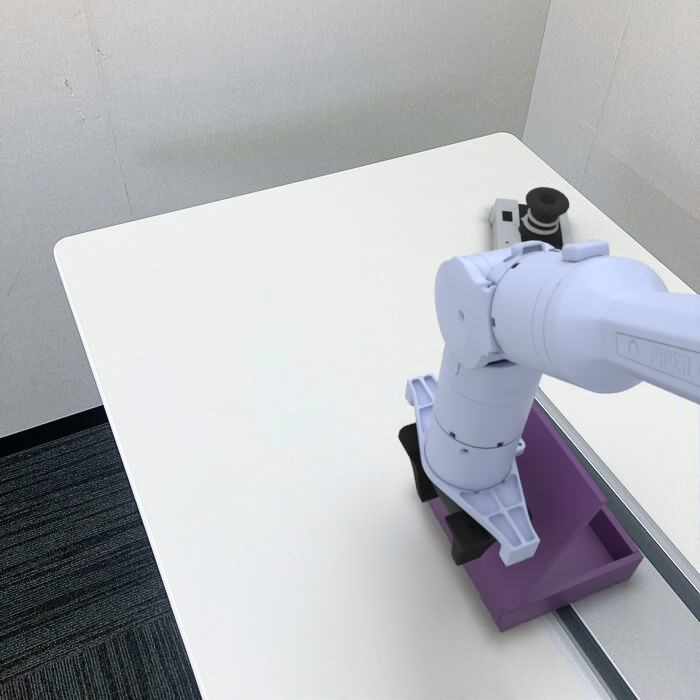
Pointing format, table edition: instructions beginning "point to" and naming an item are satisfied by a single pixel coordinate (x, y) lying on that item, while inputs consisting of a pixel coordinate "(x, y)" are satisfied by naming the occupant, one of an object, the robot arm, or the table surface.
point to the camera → (532, 219)
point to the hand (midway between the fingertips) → (448, 525)
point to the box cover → (542, 507)
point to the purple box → (561, 570)
